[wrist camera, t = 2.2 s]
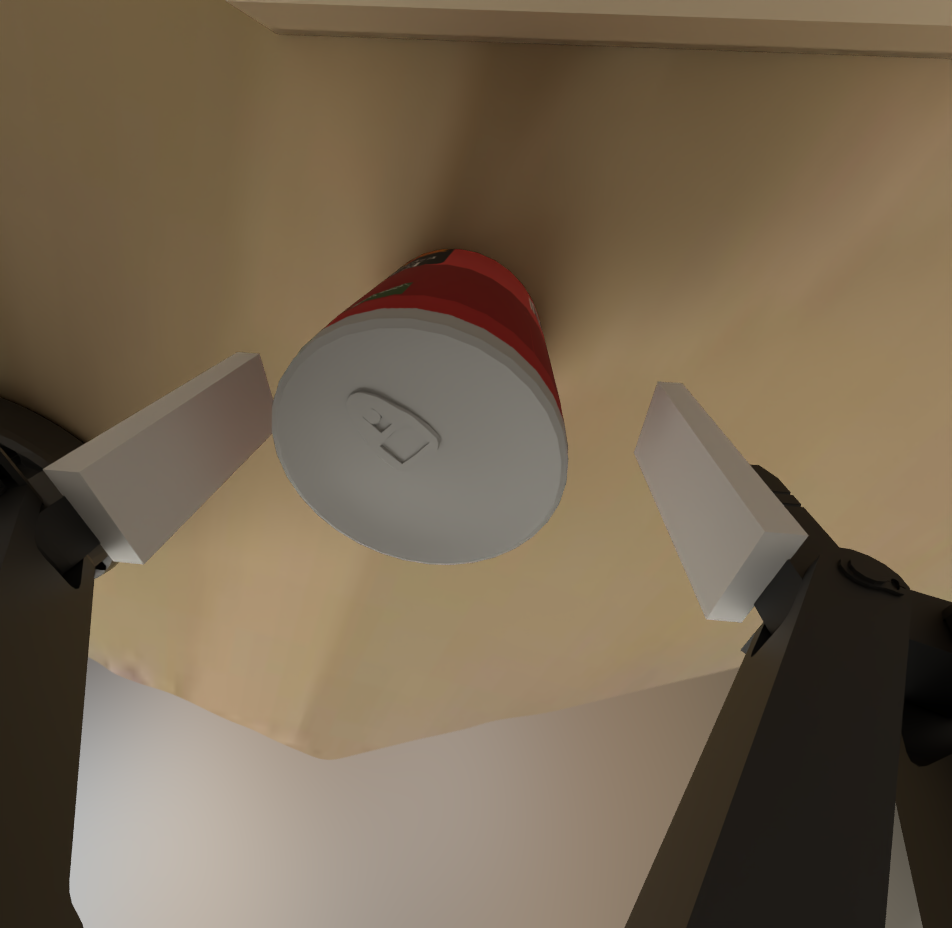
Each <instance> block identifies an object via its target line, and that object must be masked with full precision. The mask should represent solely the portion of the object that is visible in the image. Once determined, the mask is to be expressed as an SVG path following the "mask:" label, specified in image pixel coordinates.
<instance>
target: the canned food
mask: <svg viewBox="0 0 952 928" xmlns="http://www.w3.org/2000/svg"><path fill="white" fill-rule="evenodd" d="M272 434H273V438H274V443H275V448H276V452H277V455H278V458H279V460H280V462H281V464H282V467H283V469H284V471H285V473H286V476H287V477H288V479H289V480H290V482H291V483H292V485H293V486H294V488H295V489H296V491H297V492H298V494H299V495H300V496H301V498H302V499H303V500H304V501H305V502H306V503H307V504H308V505H309V506H310V507H311V508H312V509H313V510H314V512H315V513H316V514H317V515H318V516H320V517H321V518H322V519H323V520H325V521H326V522H327V523H328V524H330V525H331V526H332V527H333V528H335V529H336V530H337V531H339V532H340V533H342V534H344V535H345V536H347V537H349V538H350V539H352V540H354V541H356V542H357V543H359V544H361V545H363V546H366V547H368V548H370V549H373V550H375V551H377V552H379V553H382V554H385V555H389V556H392V557H395V558H399V559H402V560H406V561H412V562H418V563H424V564H441V565H454V564H465V563H474V562H478V561H482V560H486V559H490V558H494V557H497V556H499V555H501V554H504V553H506V552H508V551H511V550H513V549H515V548H517V547H518V546H520V545H521V544H523V543H524V542H526V541H527V540H529V539H530V538H532V537H533V536H534V535H535V534H536V533H537V532H538V531H539V530H540V529H541V528H542V527H543V526H544V525H545V524H546V523H547V522H548V520H549V519H550V517H551V516H552V514H553V513H554V511H555V509H556V508H557V506H558V505H559V502H560V500H561V497H562V494H563V491H564V488H565V485H566V480H567V468H568V455H567V453H568V444H567V437H566V431H565V425H564V419H563V415H562V410H561V404H560V399H559V395H558V391H557V387H556V383H555V379H554V375H553V371H552V367H551V363H550V359H549V355H548V351H547V347H546V343H545V339H544V335H543V331H542V327H541V323H540V320H539V316H538V313H537V311H536V308H535V306H534V303H533V300H532V299H531V297H530V296H529V294H528V292H527V291H526V289H525V287H524V286H523V285H522V283H521V282H520V281H519V280H518V279H517V278H516V277H515V276H514V275H513V274H512V273H511V272H510V271H509V270H508V269H506V268H505V267H503V266H502V265H501V264H499V263H498V262H496V261H495V260H493V259H491V258H488V257H486V256H484V255H482V254H479V253H476V252H472V251H467V250H462V249H440V250H437V251H433V252H429V253H425V254H422V255H421V256H419V257H417V258H415V259H413V260H411V261H409V262H408V263H406V264H405V265H404V266H402V267H401V268H400V269H398V270H397V271H396V272H395V273H393V274H392V275H391V276H389V277H388V278H387V279H385V280H384V281H383V282H381V283H380V284H379V285H378V286H376V287H375V288H374V289H372V290H371V291H370V292H368V293H367V294H366V295H364V296H363V297H362V298H361V299H359V300H358V301H357V302H355V303H354V304H353V305H351V306H350V307H349V308H347V309H346V310H345V311H344V312H342V313H341V314H340V315H338V316H337V317H336V318H335V319H334V320H333V321H332V322H330V323H329V324H328V325H327V326H326V327H325V328H324V329H322V330H321V331H320V332H319V333H318V334H317V335H316V336H314V337H313V338H312V339H311V340H310V341H309V342H308V343H307V344H305V345H304V346H303V347H302V348H301V350H300V351H299V353H298V354H297V356H296V357H295V358H294V359H293V360H292V362H291V363H290V365H289V366H288V368H287V370H286V371H285V373H284V374H283V376H282V377H281V379H280V381H279V384H278V387H277V391H276V394H275V397H274V401H273V404H272Z"/></svg>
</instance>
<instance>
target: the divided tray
mask: <svg viewBox="0 0 952 928" xmlns="http://www.w3.org/2000/svg"><path fill="white" fill-rule="evenodd" d="M226 1H227V2H228V3H230V4H231V5H233V6H234V7H236V8H237V9H239V10H241V11H242V12H244V13H245V14H247V15H248V16H250V17H251V18H253V19H255V20H256V21H258V22H259V23H261V24H262V25H264V26H265V27H267V28H268V29H270V30H272V31H273V32H275V33H276V34H286V35H314V36H341V37H369V38H396V39H424V40H451V41H479V42H506V43H534V44H561V45H589V46H616V47H643V48H671V49H698V50H726V51H753V52H781V53H808V54H836V55H863V56H891V57H918V58H946V59H952V0H226Z"/></svg>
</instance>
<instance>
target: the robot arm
mask: <svg viewBox="0 0 952 928" xmlns="http://www.w3.org/2000/svg"><path fill="white" fill-rule="evenodd" d="M272 404H273V398H272V395H271V391H270V388H269V384H268V381H267V378H266V374H265V371H264V367H263V364H262V361H261V357H260V354H258V353H244V352H237V353H235V354H233V355H232V356H230V357H228V358H227V359H225V360H223V361H222V362H220V363H218V364H217V365H215V366H213V367H212V368H210V369H208V370H207V371H205V372H203V373H202V374H200V375H198V376H197V377H195V378H193V379H192V380H190V381H188V382H187V383H185V384H183V385H182V386H180V387H178V388H177V389H175V390H173V391H172V392H170V393H168V394H167V395H165V396H163V397H162V398H160V399H158V400H157V401H155V402H153V403H152V404H150V405H148V406H147V407H145V408H143V409H142V410H140V411H138V412H137V413H135V414H133V415H132V416H130V417H128V418H127V419H125V420H123V421H122V422H120V423H118V424H117V425H115V426H113V427H112V428H110V429H108V430H107V431H105V432H103V433H102V434H100V435H98V436H97V437H95V438H94V439H92V440H90V441H89V442H87V443H85V444H83V443H82V442H81V441H79V440H78V439H77V438H75V437H74V436H72V435H71V434H70V433H68V432H67V431H65V430H63V429H62V428H60V427H59V426H57V425H55V424H54V423H52V422H50V421H49V420H47V419H45V418H43V417H42V416H40V415H38V414H36V413H34V412H32V411H30V410H28V409H26V408H24V407H22V406H19V405H17V404H15V403H13V402H10V401H8V400H5V399H3V398H0V928H83V924H82V922H81V920H80V918H79V916H78V914H77V912H76V911H75V909H74V907H73V905H72V903H71V897H70V893H69V877H70V866H71V853H72V841H73V830H74V817H75V804H76V793H77V781H78V769H79V757H80V745H81V733H82V720H83V709H84V696H85V685H86V672H87V660H88V648H89V636H90V624H91V612H92V600H93V588H94V579H95V578H97V577H99V576H101V575H103V574H105V573H106V572H108V571H109V570H111V569H112V568H113V567H114V566H116V565H117V564H118V563H119V562H125V563H135V564H145V563H146V562H147V561H148V560H149V559H150V558H151V556H152V555H153V554H154V553H155V552H156V551H157V550H158V549H159V548H160V547H161V546H162V545H163V544H164V543H165V542H166V541H167V540H168V539H169V538H170V537H171V536H172V535H173V534H174V533H175V532H176V531H177V530H178V529H179V528H180V527H181V526H182V525H183V524H184V523H185V522H186V521H187V520H188V519H189V518H190V517H191V516H192V515H193V514H194V513H195V512H196V511H197V510H198V509H199V508H200V507H201V506H202V504H203V503H204V502H205V501H206V500H207V499H208V498H209V497H210V496H211V495H212V494H213V493H214V492H215V491H216V490H217V489H218V488H219V487H220V486H221V485H222V484H223V483H224V482H225V481H226V480H227V479H228V478H229V477H230V476H231V475H232V474H233V473H234V472H235V471H236V470H237V469H238V468H239V467H240V466H241V465H242V464H243V463H244V462H245V461H246V460H247V459H248V458H249V457H250V456H251V455H252V454H253V452H254V451H255V450H256V449H257V448H258V447H259V446H260V445H261V444H262V443H263V442H264V441H265V440H266V439H267V438H268V437H269V436H270V435H271V434H272ZM634 454H635V456H636V459H637V461H638V463H639V466H640V468H641V470H642V473H643V475H644V477H645V479H646V482H647V484H648V486H649V489H650V491H651V493H652V496H653V498H654V500H655V502H656V505H657V507H658V509H659V512H660V514H661V516H662V519H663V521H664V523H665V525H666V528H667V530H668V532H669V535H670V537H671V539H672V542H673V544H674V546H675V548H676V551H677V553H678V555H679V558H680V560H681V562H682V565H683V567H684V569H685V571H686V574H687V576H688V578H689V581H690V583H691V585H692V588H693V590H694V592H695V594H696V597H697V599H698V601H699V604H700V606H701V608H702V611H703V613H704V615H705V617H706V619H710V620H721V621H731V622H741V623H742V621H743V620H744V619H745V617H746V616H747V615H748V613H749V612H750V611H751V610H752V608H753V607H754V606H755V607H756V609H757V611H758V613H759V615H760V616H761V618H762V620H763V623H762V625H761V626H760V627H759V628H758V629H757V631H756V632H755V633H754V634H753V636H752V637H751V638H750V639H749V640H748V642H747V643H746V644H745V645H744V646H743V648H742V649H741V651H742V652H744V653H745V654H746V655H745V657H744V659H743V662H742V664H741V666H740V669H739V671H738V673H737V675H736V678H735V680H734V682H733V684H732V687H731V689H730V691H729V693H728V696H727V698H726V700H725V702H724V705H723V707H722V709H721V711H720V714H719V716H718V718H717V720H716V723H715V725H714V727H713V729H712V732H711V734H710V736H709V738H708V741H707V743H706V745H705V748H704V750H703V752H702V754H701V756H700V759H699V761H698V763H697V765H696V768H695V770H694V772H693V775H692V777H691V779H690V781H689V784H688V786H687V788H686V790H685V793H684V795H683V797H682V799H681V802H680V804H679V806H678V808H677V811H676V813H675V815H674V817H673V820H672V822H671V824H670V826H669V829H668V831H667V833H666V836H665V838H664V840H663V842H662V844H661V847H660V849H659V852H658V854H657V856H656V858H655V860H654V863H653V865H652V867H651V869H650V871H649V874H648V876H647V878H646V880H645V883H644V885H643V887H642V890H641V892H640V894H639V896H638V899H637V901H636V903H635V905H634V908H633V910H632V912H631V914H630V917H629V919H628V921H627V923H626V926H625V928H885V920H886V919H885V918H886V907H887V896H888V884H889V872H890V860H891V848H892V836H893V824H894V810H895V801H896V805H897V810H898V815H899V819H900V823H901V828H902V833H903V837H904V842H905V846H906V851H907V856H908V861H909V865H910V870H911V874H912V879H913V884H914V888H915V893H916V897H917V902H918V907H919V911H920V916H921V921H922V925H923V928H952V602H949V601H946V600H942V599H939V598H936V597H932V596H929V595H926V594H922V593H919V592H916V591H912V590H910V588H909V587H908V585H907V584H906V583H905V582H904V581H903V579H902V578H901V577H900V576H899V575H898V574H896V573H895V572H894V571H893V570H891V569H890V568H889V567H887V566H886V565H885V564H883V563H881V562H879V561H877V560H876V559H874V558H872V557H870V556H868V555H865V554H863V553H860V552H857V551H854V550H851V549H846V548H839V547H838V545H837V544H836V543H835V542H834V541H833V540H832V539H831V537H830V536H829V535H828V534H827V533H826V532H825V531H824V530H823V528H822V527H821V526H820V525H819V524H818V523H817V522H816V521H815V519H814V518H813V517H812V516H811V515H810V514H809V513H808V512H807V510H806V509H805V508H804V507H801V504H800V503H799V501H798V500H797V499H796V498H795V497H794V496H793V495H790V493H791V492H790V491H789V490H788V489H787V488H786V487H785V486H784V484H783V483H782V482H781V481H780V480H779V479H778V478H777V477H775V476H774V475H772V474H771V473H770V472H768V471H767V470H765V469H764V468H762V467H761V466H759V465H750V464H749V463H748V462H747V461H746V459H745V458H744V457H743V456H742V455H741V453H740V452H739V451H738V450H737V449H736V447H735V446H734V445H733V444H732V443H731V441H730V440H729V439H728V438H727V437H726V435H725V434H724V433H723V432H722V431H721V429H720V428H719V427H718V426H717V425H716V423H715V422H714V421H713V420H712V418H711V417H710V416H709V415H708V414H707V412H706V411H705V410H704V409H703V408H702V406H701V405H700V404H699V403H698V402H697V400H696V399H695V398H694V397H693V396H692V394H691V393H690V392H689V391H688V390H687V388H686V387H685V386H684V385H683V384H682V383H673V382H657V385H656V388H655V391H654V394H653V397H652V400H651V403H650V406H649V409H648V412H647V415H646V418H645V421H644V424H643V427H642V430H641V433H640V436H639V439H638V442H637V445H636V448H635V451H634Z"/></svg>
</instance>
